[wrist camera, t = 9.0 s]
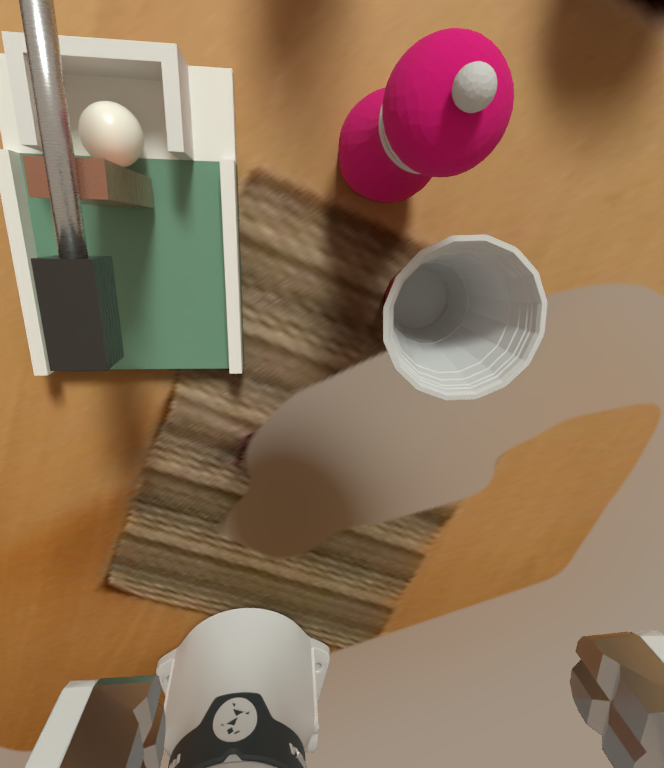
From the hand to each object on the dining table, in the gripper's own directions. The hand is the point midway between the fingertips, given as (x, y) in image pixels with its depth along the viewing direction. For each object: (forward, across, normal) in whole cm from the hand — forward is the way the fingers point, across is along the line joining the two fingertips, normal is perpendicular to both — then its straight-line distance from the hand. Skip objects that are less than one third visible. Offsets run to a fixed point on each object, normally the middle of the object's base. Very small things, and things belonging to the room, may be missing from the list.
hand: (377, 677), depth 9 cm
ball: (+30, +13, -15) cm, 35 cm away
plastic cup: (+34, -10, -3) cm, 35 cm away
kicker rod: (+31, +13, -13) cm, 36 cm away
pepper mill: (+34, -6, -14) cm, 37 cm away
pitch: (+33, +13, -9) cm, 37 cm away
